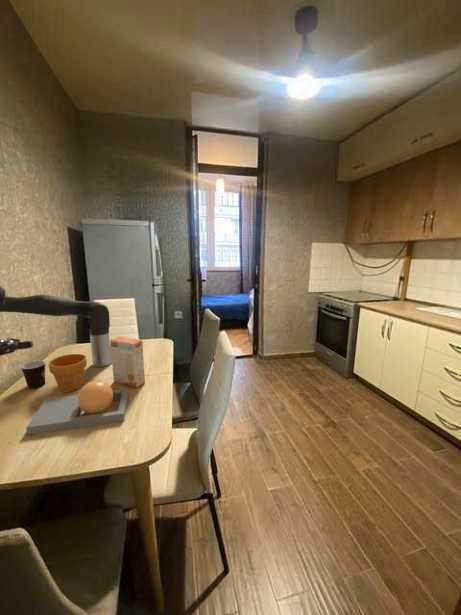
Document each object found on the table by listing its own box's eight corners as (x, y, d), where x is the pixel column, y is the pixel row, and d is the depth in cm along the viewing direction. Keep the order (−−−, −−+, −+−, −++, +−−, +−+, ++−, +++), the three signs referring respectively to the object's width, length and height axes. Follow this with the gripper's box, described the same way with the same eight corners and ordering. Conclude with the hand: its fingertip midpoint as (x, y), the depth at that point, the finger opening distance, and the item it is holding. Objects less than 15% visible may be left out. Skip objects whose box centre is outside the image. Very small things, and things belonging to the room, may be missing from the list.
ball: (83, 383, 108) (112, 394, 112) (67, 412, 99) (100, 423, 103) (91, 370, 101) (122, 382, 105) (75, 400, 92) (109, 412, 96)
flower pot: (50, 385, 122) (46, 358, 119) (84, 376, 131) (82, 351, 128) (55, 399, 111) (50, 369, 109) (92, 388, 120) (89, 360, 117)
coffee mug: (36, 391, 117) (32, 369, 115) (19, 389, 119) (16, 367, 117) (58, 378, 128) (55, 359, 126) (42, 377, 130) (39, 357, 128)
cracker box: (145, 382, 125) (143, 340, 121) (136, 388, 120) (133, 344, 116) (123, 376, 131) (119, 335, 127) (113, 382, 126) (109, 339, 121)
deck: (27, 435, 90) (26, 427, 89) (47, 405, 107) (46, 398, 106) (124, 420, 98) (123, 413, 97) (128, 395, 115) (127, 388, 114)
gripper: (-44, 346, 84) (22, 340, 89) (-20, 333, 96) (37, 328, 101) (-39, 368, 85) (26, 361, 90) (-16, 353, 98) (40, 347, 103)
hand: (31, 344), depth 96 cm, fingers closed
